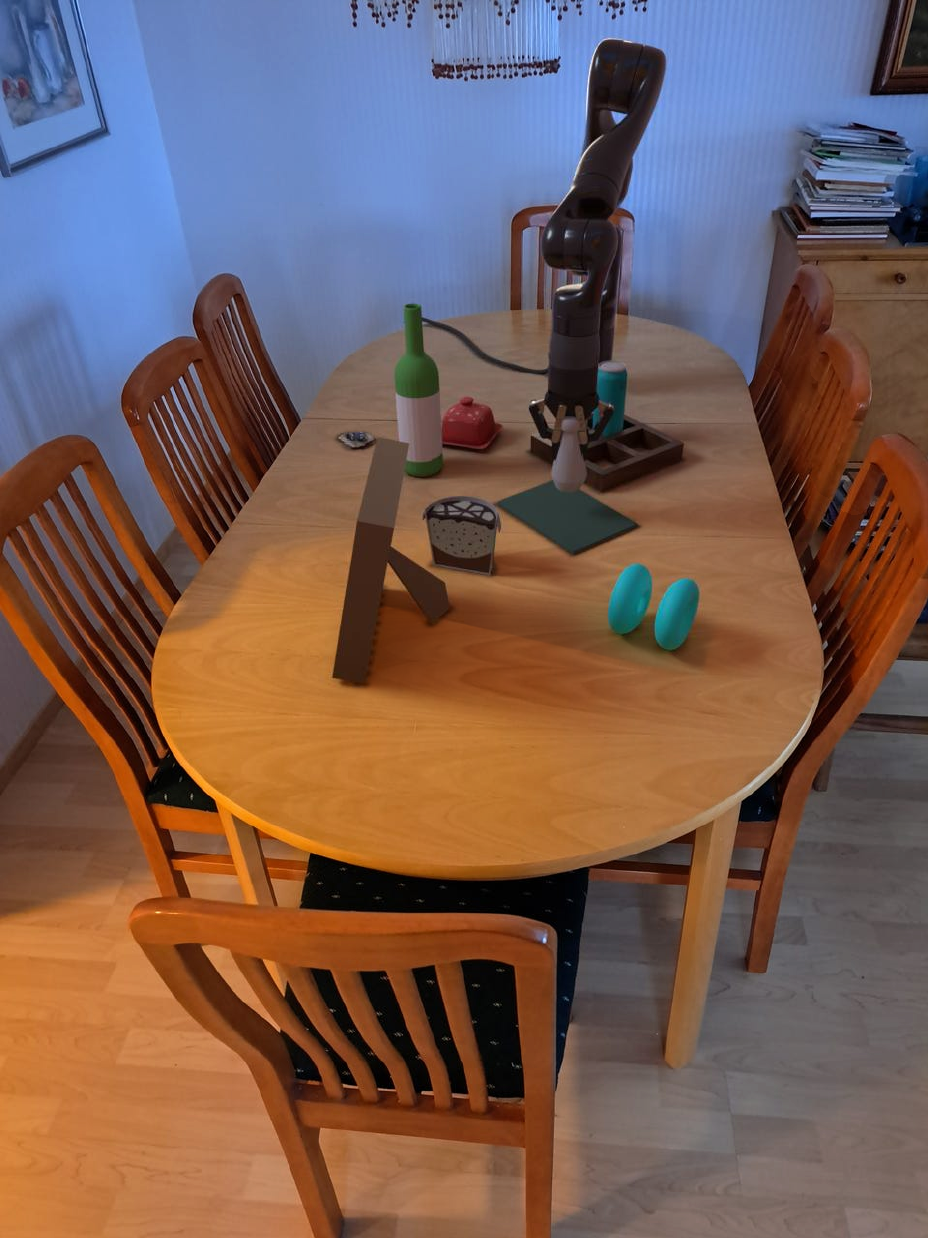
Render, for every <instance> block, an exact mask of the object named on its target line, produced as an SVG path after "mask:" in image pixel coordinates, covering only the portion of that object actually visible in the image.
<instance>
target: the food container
mask: <svg viewBox="0 0 928 1238" xmlns="http://www.w3.org/2000/svg"><path fill="white" fill-rule="evenodd" d="M421 520H422V521H425V523H426V528H427V534H428V540H429V541H428V542H429V546H430V551H431V553H430V554H431V557H432V565H433V566H434V567H441V568H446V569H452V570H457V571H464V572H470V573H473V574H474V573H476V574H480V575H486V576H491V575H492V572H493V566H494V558H495V557H494V556H495V548H496V539H497V531H498V533H501V530H502V522H501V516H500V514H499V512H498V510H497V508H496V507H495V506H494V504H492V503H491V502H490V501H487V500H485V499H483V498H480V497H474V496H469V495H454V496H447V497H443V498H440V499H437V500H435V501H432V502H431V503H430V504H428V505H427V506H426V507H425V508H424V511H423V512H422V519H421Z"/></svg>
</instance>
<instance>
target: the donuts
mask: <svg viewBox="0 0 928 1238" xmlns="http://www.w3.org/2000/svg"><path fill="white" fill-rule="evenodd" d="M652 593H653V578H652V574H651V572H650V570H649V569H648V567H646V566H645V565H643V564H641V563H632V564H630V565H628V566H626V567H625V568H624V569H623V571H622V572H621V573H620V575H619V576H618V578H617V579H616V582H615V584H614V586H613V589H612V591H611V594H610V599H609V602H608V607H607V622H608V625H609V628H610V629H611V630H612V631H613V632H614V633H616V634H620V635H624V634H625V635H626V634H629V633H631V632H632V631H634V630H635V629H636V628H638V626H640V623H641V622H642V621H643V619H644V617H645V615H646V613H647V611H648V608H649V605H650V603H651V598H652ZM699 601H700V588H699V585H698V584H697V582H695V580H694V579H692V578H690V577H689V578H688V577H684V578H683V577H682V578H679V579H678V580H676V581H674V582H673V583H672V584H670V585H669V587H668V588H667V589H666V591H665V592H664V594H663V596H662V597H661V601H660V603H659V605H658V608H657V611H656V614H655V620H654V637H655V640H656V642H657V643H658V645H659V646H660V647H661V648H662V649H664V650H667V651H673V650H676V649H679V647H681V645H683V643H684V642H685V641H686V639H687V637H688V636H689V634H690V631H691V629H692V627H693V624H694V622H695V619H696V616H697V611H698V608H699Z"/></svg>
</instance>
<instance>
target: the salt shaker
mask: <svg viewBox="0 0 928 1238" xmlns="http://www.w3.org/2000/svg"><path fill="white" fill-rule="evenodd" d="M581 425H582V424H581ZM579 426H580V425H579V422H578V421H577V419H576V417H573V416H565V417H564V420H563V422H562V429H561V433H560V448H559V451H558V454H557V458H556V462H555V460H554V462H553V464H552V467H551V471H550V476H551V479H552V480H553V481H554V484H555V486H556V488H557V489H558V490H559V491H560V492H567V493H572V492H575V491H578V490H581V489H582V486H583V485H584V484H585V483H584V481H585V479H586V476H587V471H586V464H585V461H584V460H583V453H582V456H581V452H580V447H579V444H581V443H580V438H579V432H578V430H579Z"/></svg>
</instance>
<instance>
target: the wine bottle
mask: <svg viewBox="0 0 928 1238" xmlns="http://www.w3.org/2000/svg"><path fill="white" fill-rule="evenodd" d="M422 312H423V311H422V305H421V304H419V303H416V302H415V303H407V304H405V305H404V306H403V319H404V321H403V322H405V323H404V334H405V335H404V336H405V337H404V338H405V353H404V354H403V355H402V356H401V357H400V358H399V359H398V360H397V362H396V366H395V367H394V374H393V375H394V376H393V377H394V386H395V387H394V388H395V389H394V390H395V391H394V393H395V405H396V406H395V407H396V417H397V419H396V420H397V432H398V433H397V434H398V441H400V442H405V443H409V448H408V454H407V460H406V465H405V471H404V473H406V474H407V475H409V476H413V477H417V478H418V477H419V478H424V477H430V476H433V475H435V474H437V473H438V472H439V471H440V470H441V469H442V467H443V463H444V461H443V460H444V458H443V444H442V432H441V428H442V417H441V416H442V415H441V412H442V411H441V391H440V389H441V388H440V374H439V368H438V365H437V363H436V361H435V360H434V359H433V358H432V356H431V355H429V354H428V353H426V351H425V347H424V346H425V345H424V330H423V321H422V317H423V314H422Z"/></svg>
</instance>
